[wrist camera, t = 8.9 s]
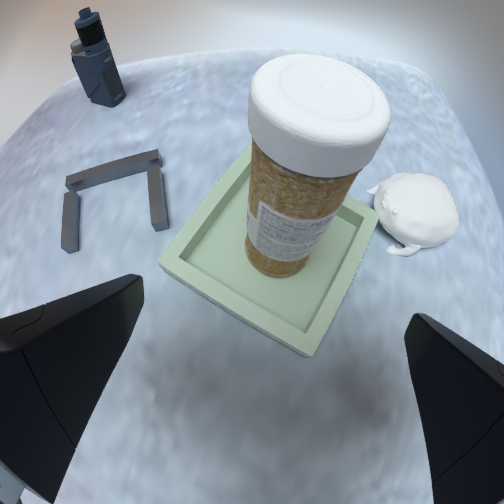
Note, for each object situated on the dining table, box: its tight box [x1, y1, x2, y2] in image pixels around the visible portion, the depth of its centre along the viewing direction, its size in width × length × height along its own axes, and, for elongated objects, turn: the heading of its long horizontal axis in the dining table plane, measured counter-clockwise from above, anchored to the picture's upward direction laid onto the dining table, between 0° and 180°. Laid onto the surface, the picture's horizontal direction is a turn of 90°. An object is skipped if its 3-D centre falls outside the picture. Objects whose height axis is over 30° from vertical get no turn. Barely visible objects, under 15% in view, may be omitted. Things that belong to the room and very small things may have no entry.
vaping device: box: [70, 7, 126, 107], centre depth 21 cm, size 3×5×12 cm, turn 62°
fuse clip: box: [61, 149, 169, 254], centre depth 21 cm, size 7×9×1 cm
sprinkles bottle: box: [245, 54, 391, 278], centre depth 14 cm, size 5×5×13 cm
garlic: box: [368, 172, 459, 256], centre depth 21 cm, size 8×7×4 cm
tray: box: [157, 145, 381, 357], centre depth 20 cm, size 11×11×2 cm
